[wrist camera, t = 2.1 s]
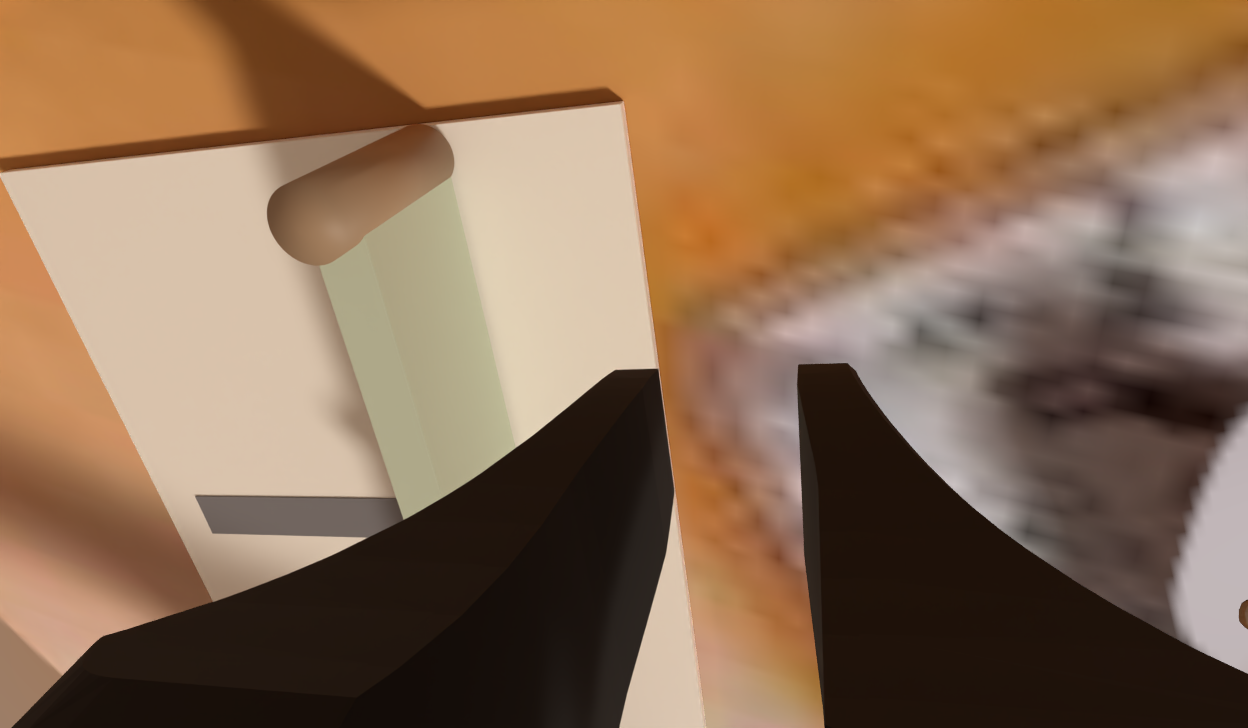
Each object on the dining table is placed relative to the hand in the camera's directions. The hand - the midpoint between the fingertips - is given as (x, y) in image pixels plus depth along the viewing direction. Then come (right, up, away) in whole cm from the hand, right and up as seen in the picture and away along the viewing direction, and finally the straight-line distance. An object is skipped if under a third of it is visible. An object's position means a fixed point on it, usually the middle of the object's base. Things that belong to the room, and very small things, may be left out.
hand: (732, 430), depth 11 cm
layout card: (-9, -3, +15) cm, 17 cm away
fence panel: (-6, +2, +11) cm, 12 cm away
